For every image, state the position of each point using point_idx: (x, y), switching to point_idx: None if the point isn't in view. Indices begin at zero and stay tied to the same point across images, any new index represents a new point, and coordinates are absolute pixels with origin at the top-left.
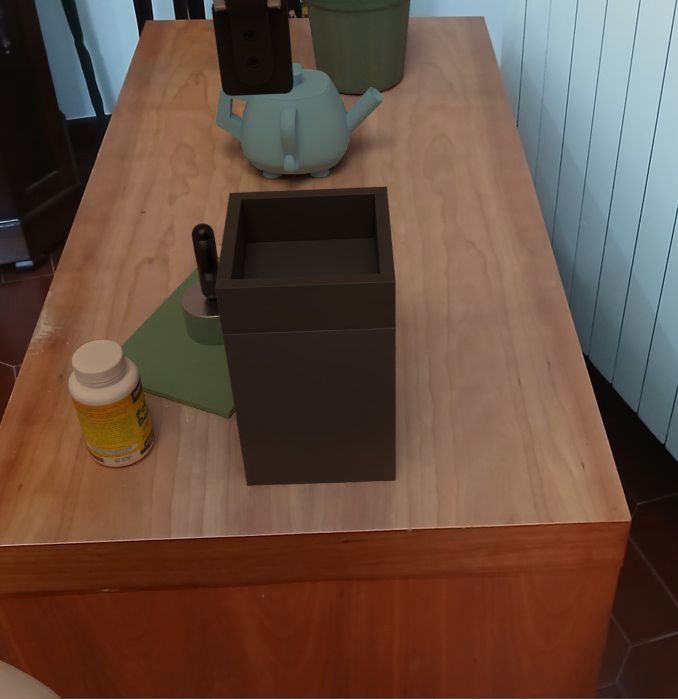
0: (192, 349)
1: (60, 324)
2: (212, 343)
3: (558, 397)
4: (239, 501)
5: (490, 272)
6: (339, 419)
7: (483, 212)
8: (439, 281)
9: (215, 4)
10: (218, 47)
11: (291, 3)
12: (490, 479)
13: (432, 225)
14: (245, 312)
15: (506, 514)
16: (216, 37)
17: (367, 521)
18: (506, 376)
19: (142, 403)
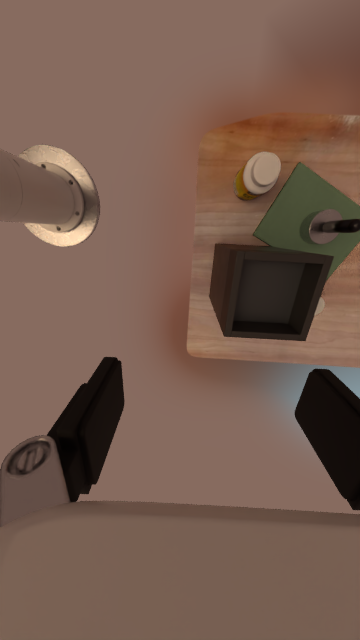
0: (301, 215)
1: (351, 128)
2: (301, 225)
3: (236, 351)
4: (208, 240)
5: (309, 344)
6: (215, 287)
7: (351, 348)
8: (311, 325)
9: (11, 453)
10: (83, 389)
11: (298, 416)
12: (205, 325)
13: (351, 328)
14: (231, 263)
15: (191, 327)
16: (77, 398)
17: (193, 286)
18: (250, 338)
19: (250, 196)
